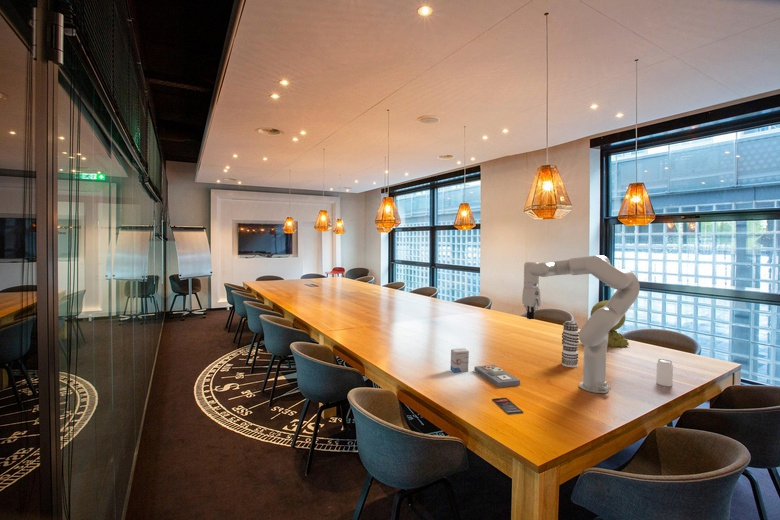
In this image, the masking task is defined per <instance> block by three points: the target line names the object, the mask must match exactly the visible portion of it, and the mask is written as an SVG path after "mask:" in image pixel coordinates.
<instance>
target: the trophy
mask: <svg viewBox="0 0 780 520" xmlns="http://www.w3.org/2000/svg"><path fill="white" fill-rule="evenodd" d="M609 300H610V299H609ZM609 300H602V301H599V302H597V303H595V304H594V305H593V306H592V308H591V310H590V316H591V315H592V314H593V313H594V312H595V311H596V310H598V309H600V308H602V307H604V306H605V305H606V303H607V302H608V301H609ZM625 321H626V314H625V315H624V316H623V317H622V318H621V320H620V321H619V323H618V324H617V325H615V326H614V327H612V328H611V330H610V331H609V332H608V344H607V348H609V347H610V348H625V347H628V346H630V345H629V344H630V343H629V342H628V340H629V339H626V337H625V336H624V335H623V334H622V333H621V332H618V331H617V330H619V329H620V328H621V327H623V325H624V323H625Z"/></svg>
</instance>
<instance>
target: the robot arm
mask: <svg viewBox="0 0 780 520" xmlns="http://www.w3.org/2000/svg"><path fill="white" fill-rule="evenodd" d="M561 275H562V276H565V275H567V276H568V275H571V276H580V275H581V276H582V275H592V276H594V277H595V278H596V279H598V280H599V281H600V282H602V283H603V284H605V286H606V285H607V286H608V287H610V288H612V289H613V290H615V292H614V294H613V295H611V297H610V299H609V301H608V302H607V303H606V305H605V306H604V307H602V308H600V309H598V310H596V311H595V312H594V313H593V314H592V315H591V314H590V317H589V318H588V319H587V320H586V322H585V323H584V324H583V326H582V327H581V328H580V329H579V331H578V332H579V334H578V335H579V337H578V338H579V340H578V341H579V343H581V344H582V345H583V346H584V348H583V366H582V367H583V368H582V370H583V371H582V375H583V376H582V381H581V382H579V383H578V384H579V385H578V386H579V388H580V389H582V390H584V391H586V392H590V393H596V394H606V393H609V391H611V390H612V387H611V386H608V381H606V380H607V379H606V375H607V374H606V372H607V350H608V347H607V344H608V332H609V331H610V330H611V328H612V327H614V326H615V325H617V324H618V323H619V321H620V320H621V318H622V317H623V316H624V315H625V316H626V314H627V312H628V311H629V309H630V308H631V307H632V306H633V304H634V303H635V301H636V300H637V299H638V296H639V293H640V290H641V289H640V282H639V279H638V277H637V275H636V274H635V273H634V272H632V271H631V270H628V269H619V268H617V267H616V266H614V265H612V264H611V260H610V259H609V257H607V256H605V255H603V254H602V255H600V254H597V255H590V256H580V257H572V258H569V259H564V260H555V261H545V262H535V261H526V262H524V265H523V289H522V296H521V297H522V298H521V302H522V305H523V307H525V309H526V310H525V311H526V319H527V320H534V317H535V312H536V310H538V309H539V308H540V307H541V302H542V301H541V292H540V288H539V287H540V286H539V284H540V283H539V281H540V279H539V278H540V277H541V278H548V277H552V276H561Z"/></svg>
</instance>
